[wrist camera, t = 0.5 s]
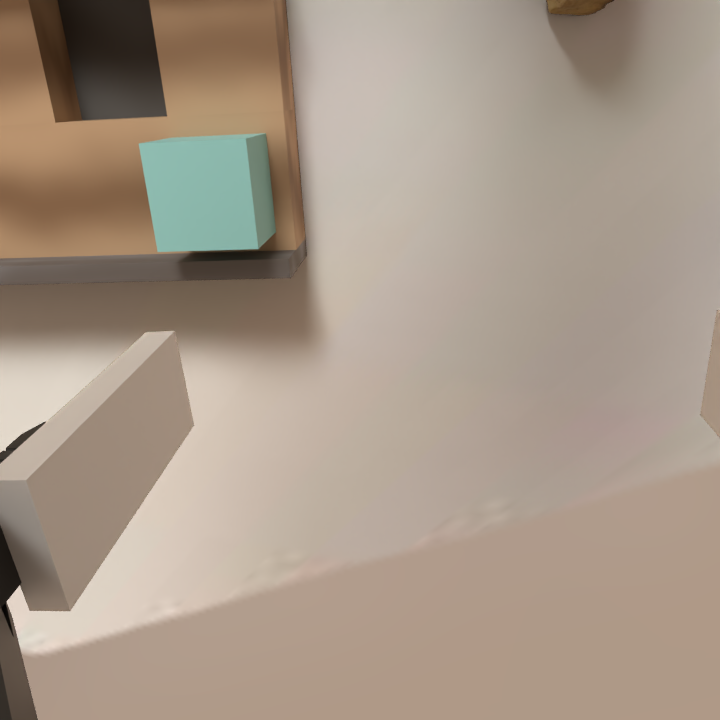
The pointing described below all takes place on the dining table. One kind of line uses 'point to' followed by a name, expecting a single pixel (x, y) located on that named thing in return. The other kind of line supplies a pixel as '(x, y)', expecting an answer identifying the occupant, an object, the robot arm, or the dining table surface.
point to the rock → (576, 6)
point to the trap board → (135, 132)
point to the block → (209, 192)
